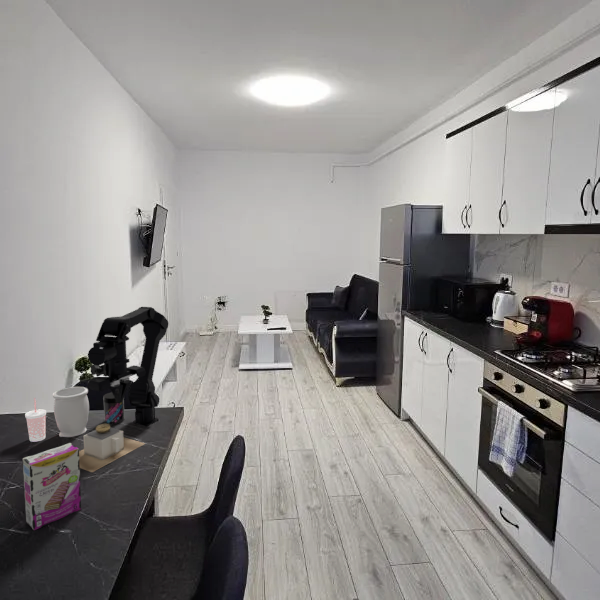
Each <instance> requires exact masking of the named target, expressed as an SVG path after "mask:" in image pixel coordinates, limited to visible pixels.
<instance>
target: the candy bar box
mask: <svg viewBox="0 0 600 600" xmlns="http://www.w3.org/2000/svg"><path fill="white" fill-rule="evenodd" d="M79 451H80V448H78V447H77V446H76V445H74V444H73V443H71V442H68V443H66V444H62V445H59V446H57V447H53V448H51V449H47V450H45V451H41V452H37V453H34V454H31V455H29V456H28V455H27V456H25V457H23V458H22V471H23V472H22V474H23V490H24V507H25V508H24V509H25V521H26V523H27V525H29V527H30V528H31V529H32V530H33V531H36V530H38V529H40V528H43V527H44V526H48V525H49V524H51V523H53V522H56V521H58V520H60V519H63V518H65V517H67V516H69V515H71V514H75V513H77V512H78V511H81V510H82V493H81V490H82V489H81V468H80V465H79Z"/></svg>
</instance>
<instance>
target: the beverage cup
mask: <svg viewBox="0 0 600 600" xmlns="http://www.w3.org/2000/svg"><path fill="white" fill-rule="evenodd" d="M33 405H34V407H33V408H34V409H32V410H30V411H26V412H25V414H24V416H25V419H26V424H27V431H28V438H29V441H30V442H31V443H32V442H34V443H35V442H41V441H43V440H45V439H46V428H47V427H46V416H47V410H46V409H43V408H41V409H39V408H38V409H37V401H36V397H33Z"/></svg>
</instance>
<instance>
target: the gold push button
mask: <svg viewBox="0 0 600 600" xmlns="http://www.w3.org/2000/svg"><path fill="white" fill-rule="evenodd" d="M110 427H111V425H110V424H106V423H102V424H98V425H96V427H95V430H96V432H97V433H105V432H108V431H109V430H110Z"/></svg>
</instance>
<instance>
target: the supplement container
mask: <svg viewBox="0 0 600 600" xmlns="http://www.w3.org/2000/svg"><path fill="white" fill-rule="evenodd" d="M102 399H103V412H104V417H103V418H104V424H110V426H111V425H117V424H121V423H123V422H124V421H125V400H124V399H125V397H124V398H123V400H122V402H121V403H117V402H116V400H115V398H114V396H113V393H112V392H107V393H105V394H103V398H102Z"/></svg>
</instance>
